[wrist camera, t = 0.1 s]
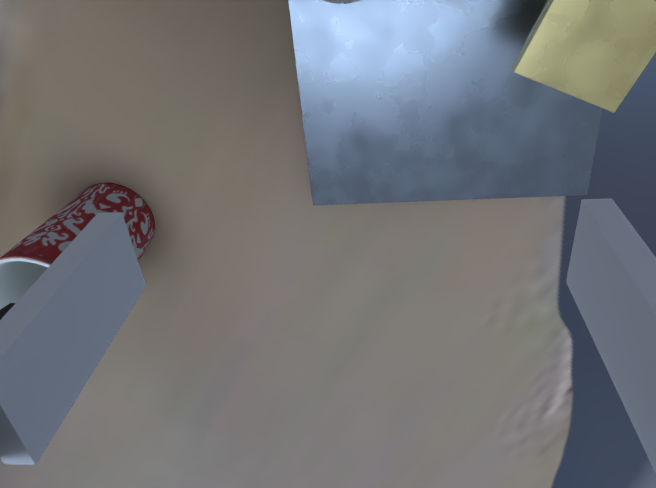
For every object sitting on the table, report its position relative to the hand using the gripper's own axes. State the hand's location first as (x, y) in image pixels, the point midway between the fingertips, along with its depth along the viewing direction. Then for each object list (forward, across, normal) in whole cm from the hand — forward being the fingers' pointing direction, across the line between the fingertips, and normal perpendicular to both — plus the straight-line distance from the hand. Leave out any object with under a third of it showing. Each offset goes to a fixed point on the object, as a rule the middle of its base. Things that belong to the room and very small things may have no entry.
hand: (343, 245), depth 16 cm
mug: (+28, -25, -15) cm, 41 cm away
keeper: (+28, +13, +1) cm, 31 cm away
